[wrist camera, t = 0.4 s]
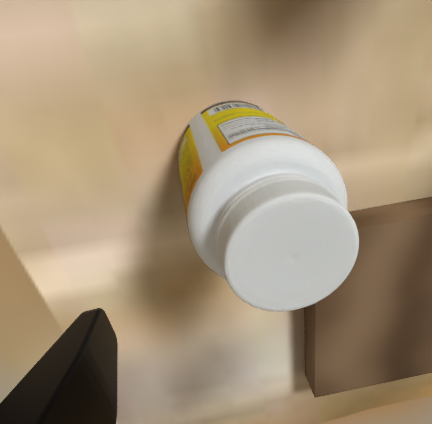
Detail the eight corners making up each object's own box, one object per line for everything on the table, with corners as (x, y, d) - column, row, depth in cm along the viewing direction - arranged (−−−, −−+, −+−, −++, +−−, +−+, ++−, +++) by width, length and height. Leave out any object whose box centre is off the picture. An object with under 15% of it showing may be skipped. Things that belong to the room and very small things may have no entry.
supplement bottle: (219, 217, 21) (265, 360, 12) (154, 145, 18) (148, 254, 9) (299, 157, 20) (417, 263, 11) (241, 73, 17) (330, 116, 8)
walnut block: (517, 181, 22) (548, 194, 21) (471, 339, 29) (491, 359, 27) (303, 220, 21) (316, 237, 20) (305, 374, 28) (315, 397, 26)
